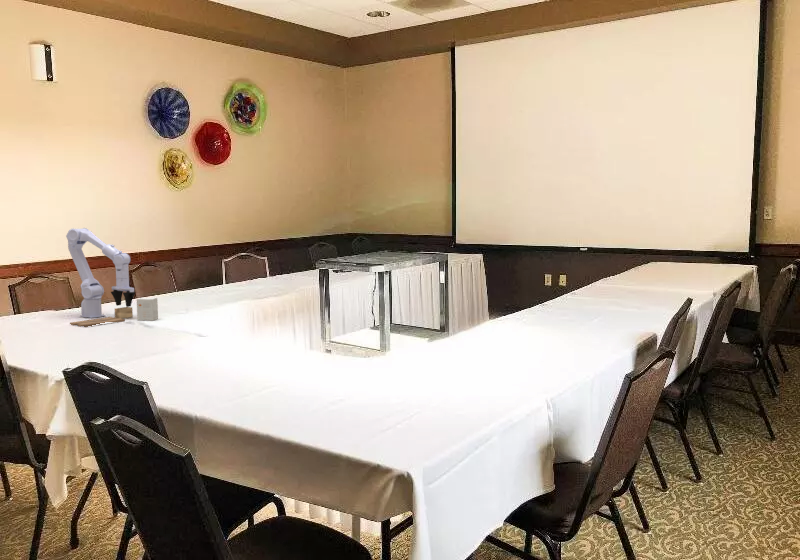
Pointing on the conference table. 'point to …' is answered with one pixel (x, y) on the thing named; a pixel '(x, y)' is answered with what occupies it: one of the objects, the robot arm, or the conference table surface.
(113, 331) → the conference table surface
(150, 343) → the conference table surface
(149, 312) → the small box
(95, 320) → the board
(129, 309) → the block
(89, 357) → the conference table surface
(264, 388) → the conference table surface
